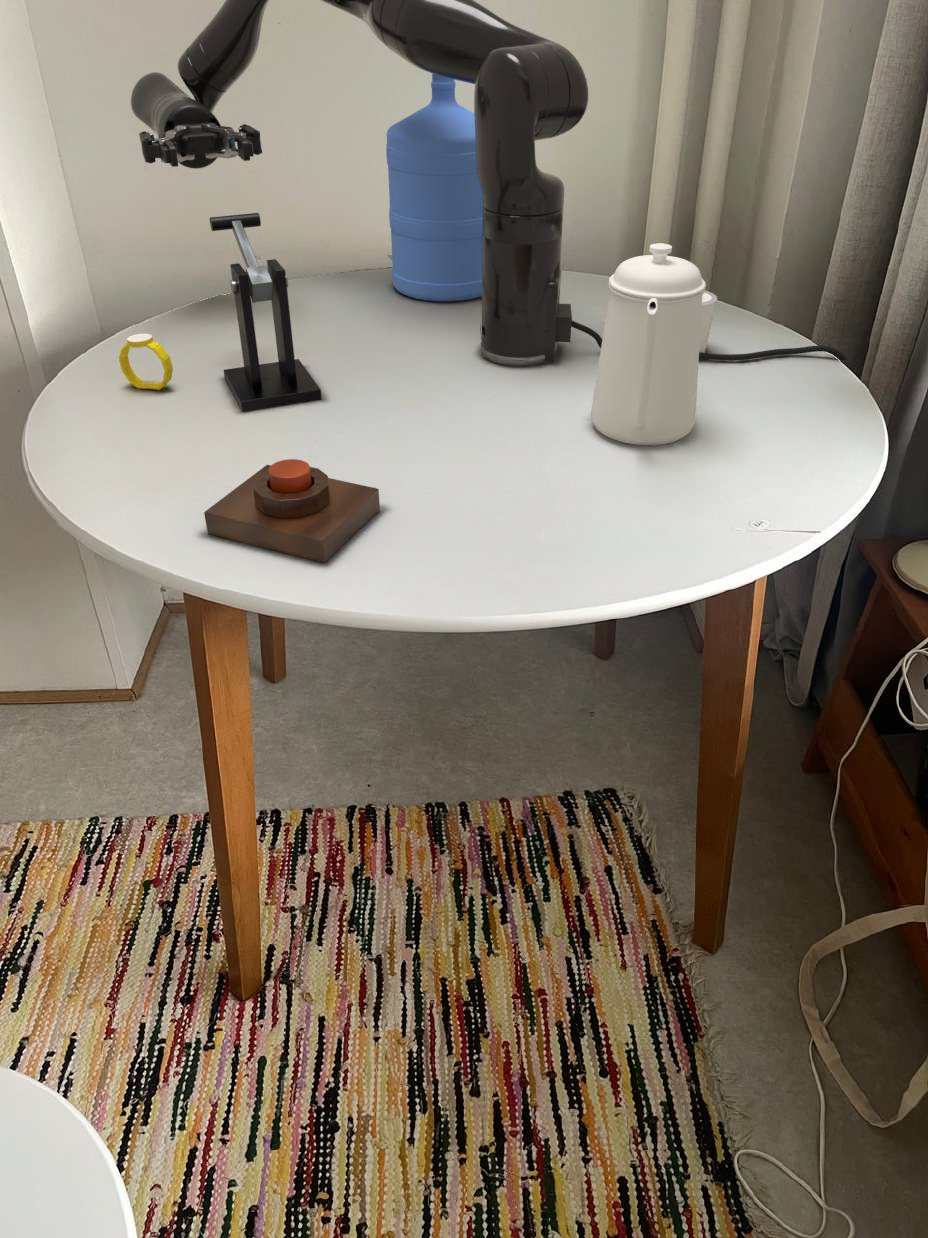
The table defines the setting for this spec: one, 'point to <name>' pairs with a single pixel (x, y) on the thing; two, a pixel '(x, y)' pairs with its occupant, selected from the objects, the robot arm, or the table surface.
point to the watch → (148, 341)
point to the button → (290, 476)
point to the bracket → (288, 375)
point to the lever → (247, 253)
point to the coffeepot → (650, 350)
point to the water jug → (435, 200)
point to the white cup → (706, 318)
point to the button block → (294, 515)
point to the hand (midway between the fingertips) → (210, 154)
